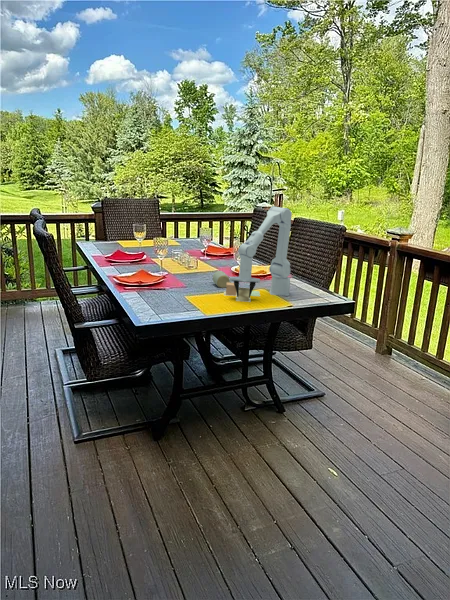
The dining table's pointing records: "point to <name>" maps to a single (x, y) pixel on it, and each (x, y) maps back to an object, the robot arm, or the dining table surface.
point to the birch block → (243, 294)
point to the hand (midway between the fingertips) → (243, 296)
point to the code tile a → (240, 300)
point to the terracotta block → (230, 289)
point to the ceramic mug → (220, 279)
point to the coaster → (255, 293)
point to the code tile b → (229, 295)
